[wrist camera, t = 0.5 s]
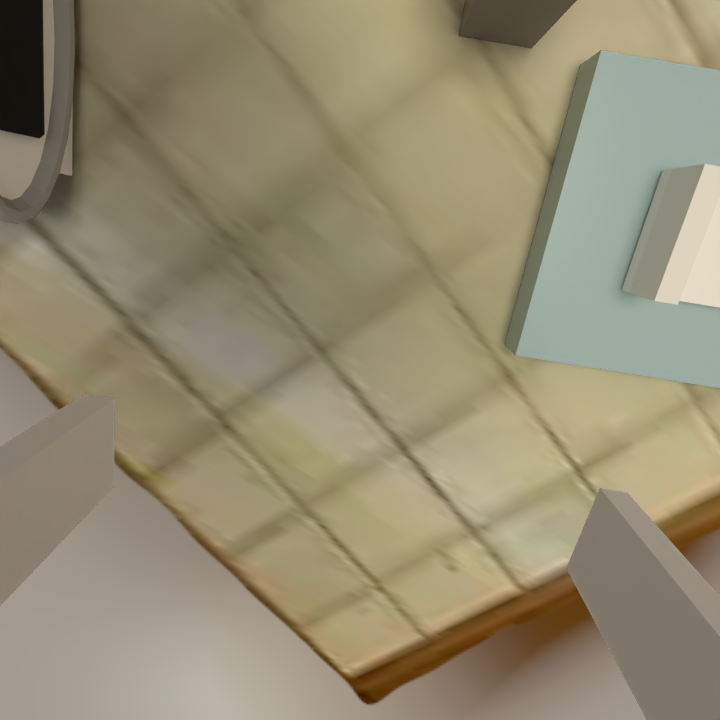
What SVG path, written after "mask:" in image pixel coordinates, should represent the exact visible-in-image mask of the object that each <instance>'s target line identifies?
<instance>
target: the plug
mask: <svg viewBox="0 0 720 720" xmlns="http://www.w3.org/2000/svg"><path fill="white" fill-rule="evenodd" d="M576 1H577V0H465V5H464V10H463V16H462V21H461V26H460V31H459V36H463V37H469V38H475V39H481V40H486V41H492V42H498V43H504V44H510V45H516V46H522V47H528V48H532V47H533V46H534V45H535V44H536V43H537V42H538V41H539V40H540V39H541V38H542V37H543V36H544V34H545V33H546V32H547V31H548V30H549V29H550V28H551V27H552V26H553V25H554V24H555V23H556V22H557V21H558V20H559V19H560V17H561V16H562V15H563V14H564V13H565V12H566V11H567V10H568V9H569V8H570V7H571V6H572V5H573V4H574V3H575V2H576Z"/></svg>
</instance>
